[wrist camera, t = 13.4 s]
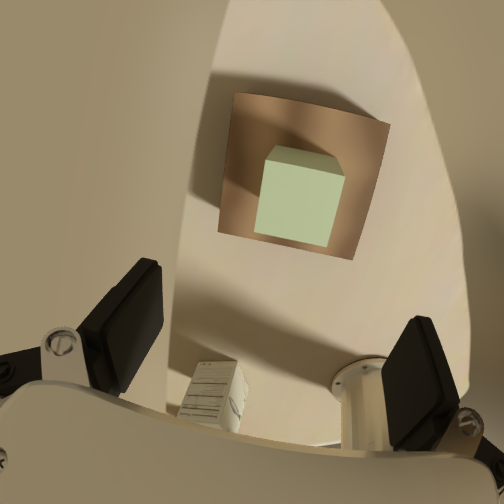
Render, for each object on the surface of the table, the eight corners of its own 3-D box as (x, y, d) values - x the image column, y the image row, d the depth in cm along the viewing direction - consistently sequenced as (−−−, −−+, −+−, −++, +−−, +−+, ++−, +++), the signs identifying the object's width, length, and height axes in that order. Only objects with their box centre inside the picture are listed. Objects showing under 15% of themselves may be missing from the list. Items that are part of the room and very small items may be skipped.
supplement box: (250, 387, 50) (235, 448, 40) (211, 386, 52) (192, 443, 41) (238, 359, 47) (220, 425, 36) (197, 360, 49) (172, 420, 38)
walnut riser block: (378, 120, 28) (390, 124, 23) (347, 239, 35) (352, 260, 30) (245, 92, 29) (234, 91, 24) (229, 214, 36) (217, 231, 31)
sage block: (336, 157, 26) (345, 176, 20) (323, 213, 28) (326, 247, 22) (275, 144, 26) (265, 159, 20) (266, 201, 29) (253, 232, 23)
